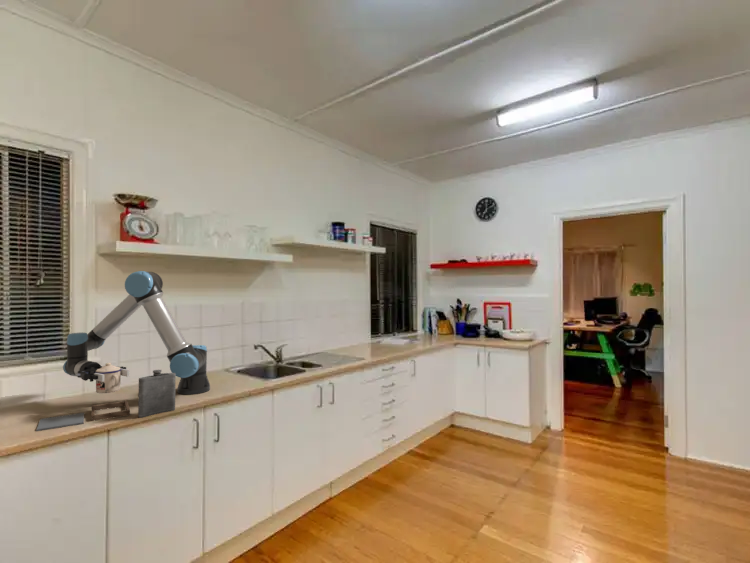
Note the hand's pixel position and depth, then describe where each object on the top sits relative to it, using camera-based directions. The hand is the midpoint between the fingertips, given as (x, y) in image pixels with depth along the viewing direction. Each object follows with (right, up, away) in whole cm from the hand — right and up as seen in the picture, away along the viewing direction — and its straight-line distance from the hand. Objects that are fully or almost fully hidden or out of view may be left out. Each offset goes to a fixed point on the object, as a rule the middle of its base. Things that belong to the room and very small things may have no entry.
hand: (116, 375), depth 167 cm
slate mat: (-15, -16, -9) cm, 24 cm away
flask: (+16, -17, +2) cm, 23 cm away
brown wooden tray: (-4, -16, +2) cm, 17 cm away
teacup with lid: (-4, -7, +2) cm, 9 cm away
